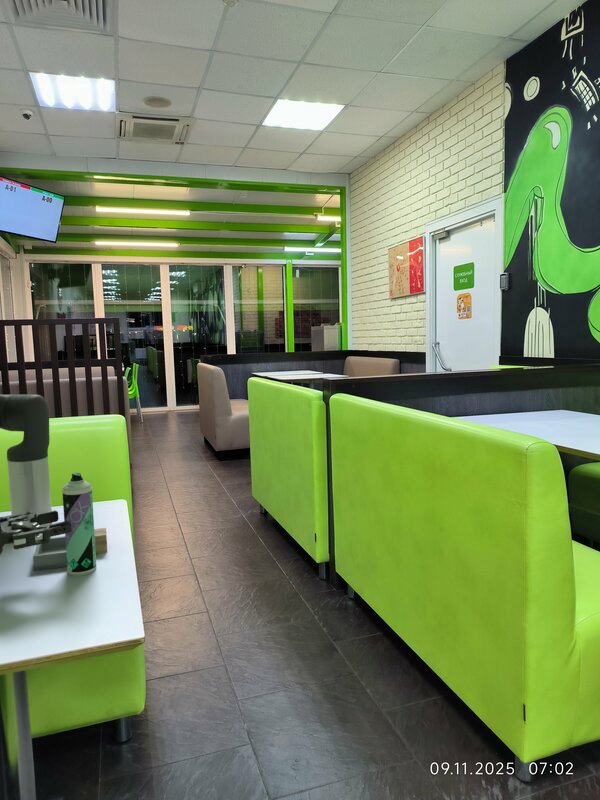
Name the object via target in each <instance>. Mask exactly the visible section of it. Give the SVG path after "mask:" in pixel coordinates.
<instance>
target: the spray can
mask: <svg viewBox="0 0 600 800" xmlns="http://www.w3.org/2000/svg"><path fill="white" fill-rule="evenodd" d="M61 493H62V505H63V507H62V508H63V520H64V521H70V522H71V532H70V533H66V534H64V536H65V539H66V555H67V566H66V567H67V569H66V570H67V574H68V575H70V576H74V577H79V576H86V575H88V574H92V573H93V572H95V571H96V570H97V555H96V554H97V553H96V550H95V533H94V529H95V519H94V517H95V516H94V503H93V502H94V501H93V500H94V499H93V487H92V483H90V482H88V481H86V480H85V478H83V476H82V474H81V472H73V473H71V478H70V479H69V480H68V482H67V483H65V484H64V485H63V486H62V492H61ZM64 521H63V522H64Z"/></svg>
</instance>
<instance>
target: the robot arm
mask: <svg viewBox="0 0 600 800" xmlns="http://www.w3.org/2000/svg"><path fill="white" fill-rule="evenodd" d="M0 429H1V430H4V431H8V432H23V439H22V441H21V442H20V443H18V444H16V445H12V446H10V447H9V448H7V450H6V459H7V460H6V461H7V462H6V463H7V474H8V485H9V489H8V490H9V499H10V513H11V514H9V515H6V516H0V556H1V555H2V554H3V550H4V546H5V545H12V544H13V550H19V549H20V550H21V549H25V548H30V547H34V546H37V545H39V544H44V543H48V542H50V538H54V537H58V536H60V535H61V536H62V535H65V534H66V533H70V532H71V522H70V521H59V519H60V518H59V512H58V510H55V509H54V510H52V509H53V508H52V494H51V481H50V468H49V467H50V466H49V454H48V453H49V446H50V411H49V405H48V402H47V400H46V398H45V397H44V396H42V395H40V394H28V393H27V394H17V393H16V394H0ZM58 521H59V522H58Z"/></svg>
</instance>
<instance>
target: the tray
mask: <svg viewBox="0 0 600 800" xmlns="http://www.w3.org/2000/svg"><path fill="white" fill-rule="evenodd" d="M32 557H33V558H32V559H33V571H34V572H35V571H42V570H49V569H55V568H56V569H57V568H62V567H63V568H64V567H67V555H66V539H65V535H64V536H62V535H61V536H53V537H51V538H50V542H48V543H44V544H39V545H36V547H35V551H34V553H33V556H32Z"/></svg>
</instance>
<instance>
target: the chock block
mask: <svg viewBox="0 0 600 800" xmlns="http://www.w3.org/2000/svg"><path fill="white" fill-rule="evenodd" d="M94 533H95V550H96V554H101V553H103V552H104V553H108V540H107V539H108V538H107V527H100V528H94Z"/></svg>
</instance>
